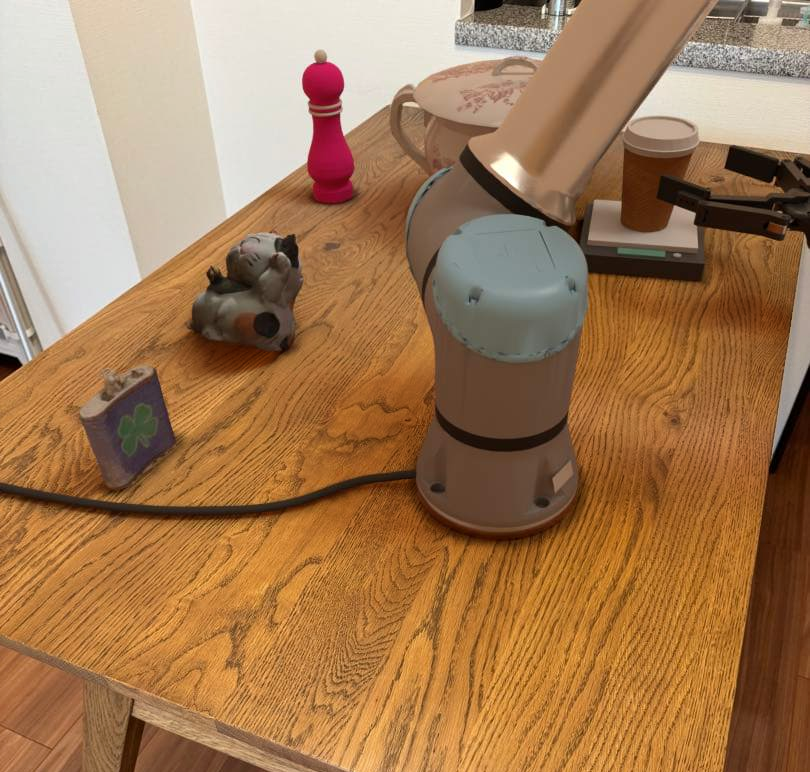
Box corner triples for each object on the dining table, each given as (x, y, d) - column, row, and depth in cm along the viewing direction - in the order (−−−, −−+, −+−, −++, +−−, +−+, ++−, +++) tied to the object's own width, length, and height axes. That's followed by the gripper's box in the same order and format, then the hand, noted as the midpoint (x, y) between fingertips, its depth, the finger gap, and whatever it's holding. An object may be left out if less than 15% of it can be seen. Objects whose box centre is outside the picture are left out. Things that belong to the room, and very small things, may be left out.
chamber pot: (641, 221, 113) (672, 58, 98) (492, 276, 103) (501, 104, 88) (517, 163, 130) (527, 16, 115) (378, 205, 119) (370, 50, 105)
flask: (120, 495, 75) (84, 403, 67) (97, 486, 76) (59, 394, 68) (183, 441, 80) (156, 350, 73) (161, 433, 81) (132, 343, 74)
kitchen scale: (575, 270, 103) (578, 247, 101) (584, 219, 114) (587, 197, 112) (700, 281, 101) (707, 257, 98) (697, 227, 111) (703, 205, 109)
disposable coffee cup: (681, 240, 102) (704, 142, 93) (607, 235, 103) (623, 139, 95) (679, 209, 108) (700, 115, 100) (609, 205, 110) (623, 112, 101)
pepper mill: (365, 191, 123) (356, 46, 109) (338, 208, 119) (325, 59, 105) (328, 183, 126) (315, 40, 112) (301, 199, 122) (283, 53, 107)
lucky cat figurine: (180, 322, 97) (199, 204, 92) (274, 341, 102) (297, 230, 97) (195, 350, 84) (218, 215, 79) (302, 370, 89) (329, 245, 84)
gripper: (782, 297, 82) (623, 230, 94) (902, 226, 93) (746, 175, 104) (807, 226, 77) (635, 165, 88) (931, 160, 87) (763, 114, 99)
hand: (695, 170), depth 96 cm, fingers open, 13 cm apart
